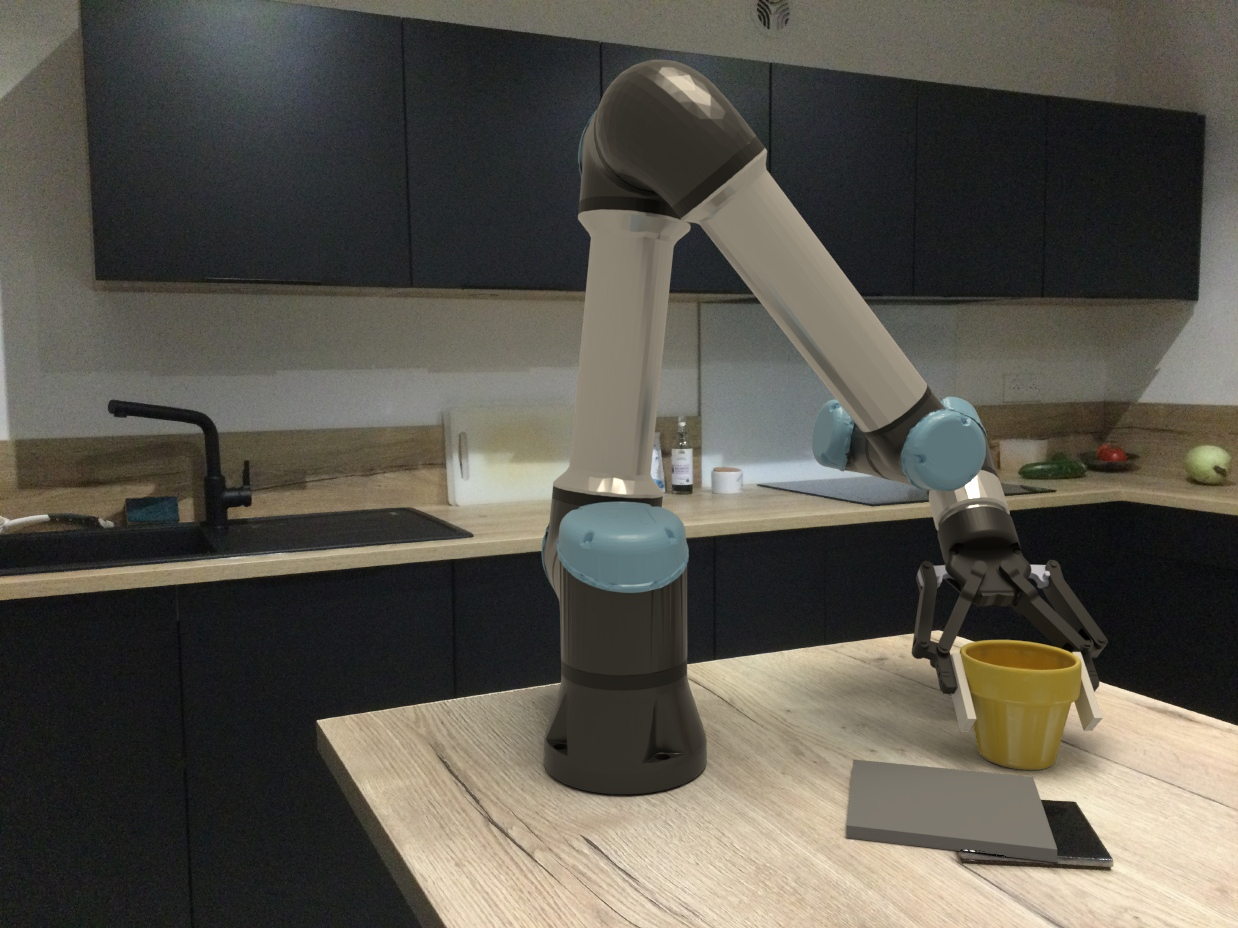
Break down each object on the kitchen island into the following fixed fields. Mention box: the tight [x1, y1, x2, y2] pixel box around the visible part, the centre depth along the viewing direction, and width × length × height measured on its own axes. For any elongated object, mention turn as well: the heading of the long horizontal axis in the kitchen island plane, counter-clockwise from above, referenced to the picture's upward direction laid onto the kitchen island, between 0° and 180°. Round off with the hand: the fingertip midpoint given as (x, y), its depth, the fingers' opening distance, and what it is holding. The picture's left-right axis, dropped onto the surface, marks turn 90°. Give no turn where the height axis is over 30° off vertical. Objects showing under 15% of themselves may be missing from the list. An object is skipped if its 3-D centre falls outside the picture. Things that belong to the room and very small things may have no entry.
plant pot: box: [959, 639, 1082, 771], centre depth 89 cm, size 10×10×10 cm
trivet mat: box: [845, 758, 1058, 863], centre depth 78 cm, size 15×13×1 cm
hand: (1030, 724), depth 86 cm, fingers open, 10 cm apart
